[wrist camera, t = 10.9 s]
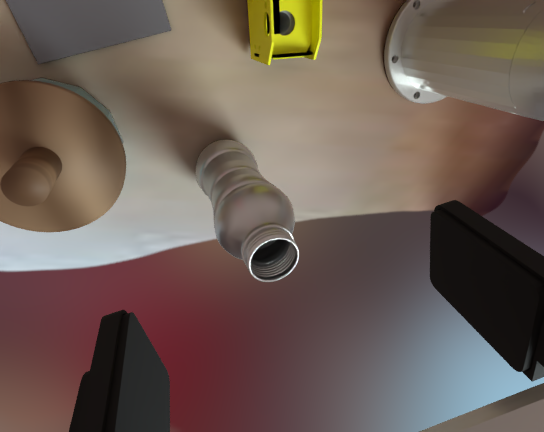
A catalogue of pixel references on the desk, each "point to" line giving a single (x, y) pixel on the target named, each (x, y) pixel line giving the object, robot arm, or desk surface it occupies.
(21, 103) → the lid
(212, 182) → the plastic bottle
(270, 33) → the yellow toy chassis
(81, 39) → the mat
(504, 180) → the desk surface
